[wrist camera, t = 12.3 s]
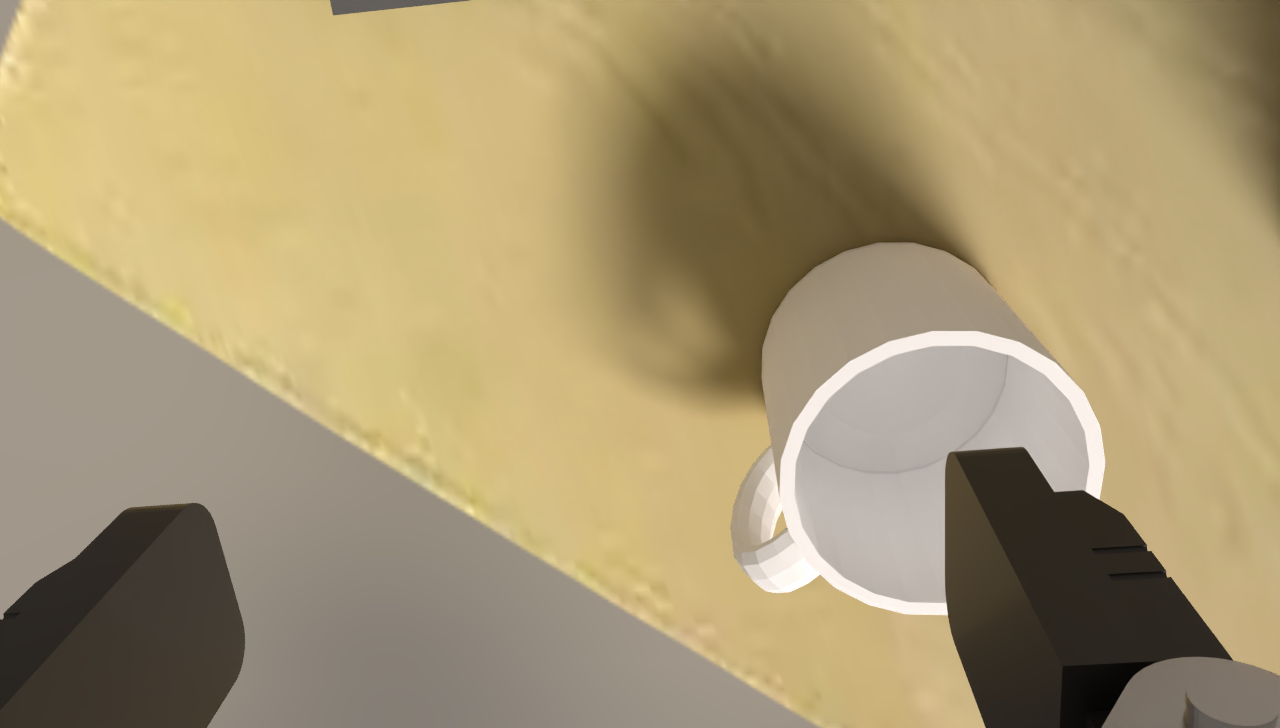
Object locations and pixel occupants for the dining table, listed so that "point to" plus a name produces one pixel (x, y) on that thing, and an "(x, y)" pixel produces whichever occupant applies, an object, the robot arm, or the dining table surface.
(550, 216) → the dining table surface
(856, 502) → the mug
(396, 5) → the grey flat rectangular frame
